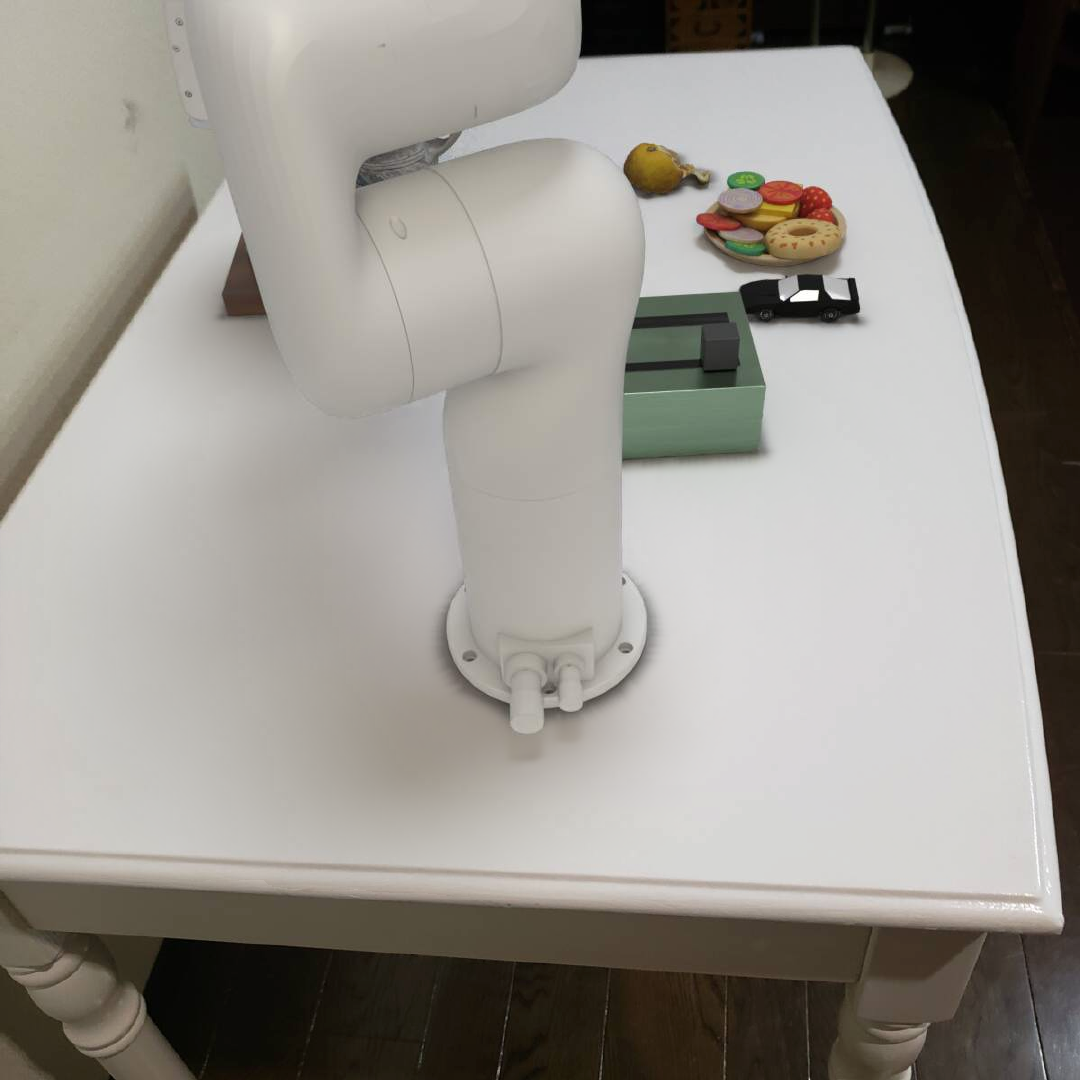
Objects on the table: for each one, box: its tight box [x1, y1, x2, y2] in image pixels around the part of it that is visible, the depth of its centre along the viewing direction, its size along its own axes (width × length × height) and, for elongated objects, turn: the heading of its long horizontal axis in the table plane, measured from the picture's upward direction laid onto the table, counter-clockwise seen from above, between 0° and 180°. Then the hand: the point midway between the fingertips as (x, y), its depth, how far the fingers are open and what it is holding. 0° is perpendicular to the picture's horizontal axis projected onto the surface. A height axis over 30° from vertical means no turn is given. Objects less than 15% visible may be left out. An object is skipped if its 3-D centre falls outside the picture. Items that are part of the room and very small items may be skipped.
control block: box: [221, 232, 267, 317], centre depth 101 cm, size 12×10×4 cm
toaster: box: [622, 290, 767, 460], centre depth 84 cm, size 12×12×6 cm
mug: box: [356, 131, 463, 187], centre depth 110 cm, size 10×12×10 cm
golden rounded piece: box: [622, 142, 711, 195], centre depth 110 cm, size 8×8×4 cm
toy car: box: [738, 273, 861, 323], centre depth 93 cm, size 10×4×3 cm, turn 85°
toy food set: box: [695, 170, 848, 267], centre depth 102 cm, size 13×13×3 cm
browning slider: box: [700, 322, 740, 371], centre depth 79 cm, size 2×2×3 cm
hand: (273, 188), depth 96 cm, fingers closed
